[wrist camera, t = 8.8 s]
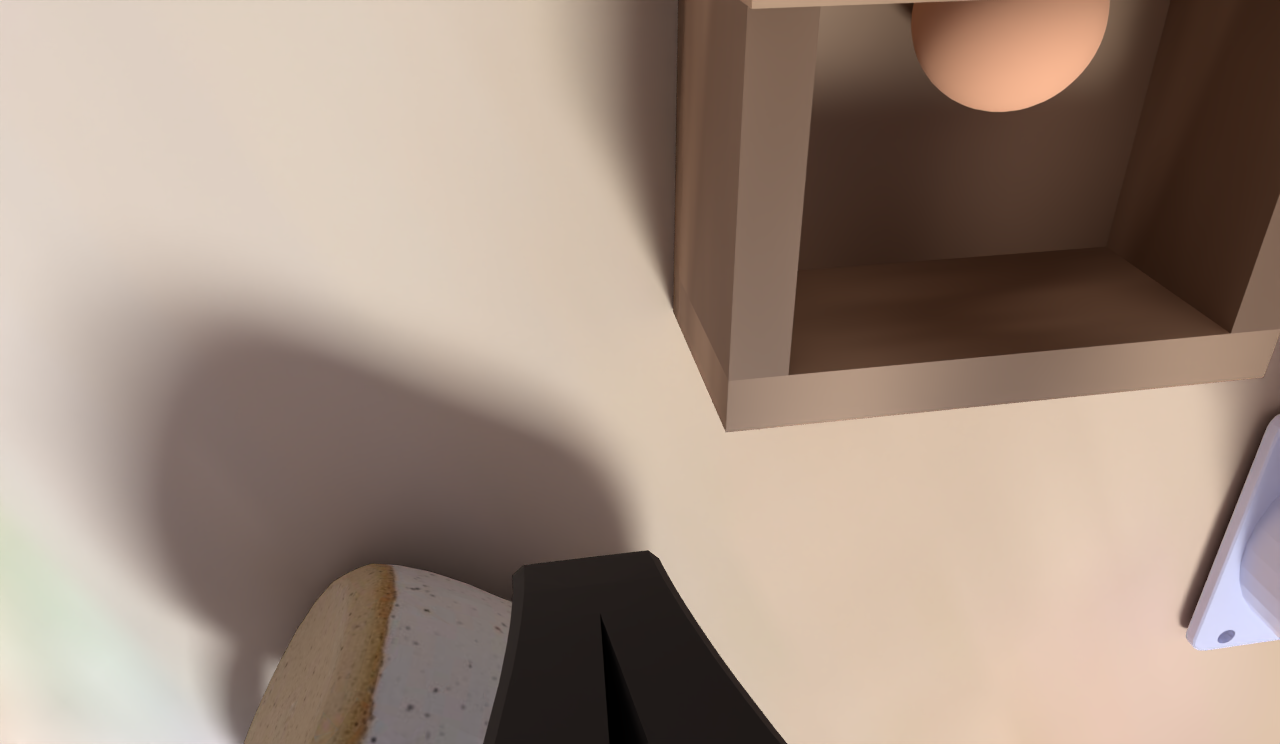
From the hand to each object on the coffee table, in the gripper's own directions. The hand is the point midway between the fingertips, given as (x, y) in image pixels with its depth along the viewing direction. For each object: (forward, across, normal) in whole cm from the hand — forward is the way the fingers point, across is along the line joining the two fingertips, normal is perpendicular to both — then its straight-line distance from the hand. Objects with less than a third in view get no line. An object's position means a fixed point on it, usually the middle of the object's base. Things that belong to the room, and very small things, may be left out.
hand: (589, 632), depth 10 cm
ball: (+10, -8, -4) cm, 13 cm away
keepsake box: (+10, -8, -3) cm, 13 cm away
